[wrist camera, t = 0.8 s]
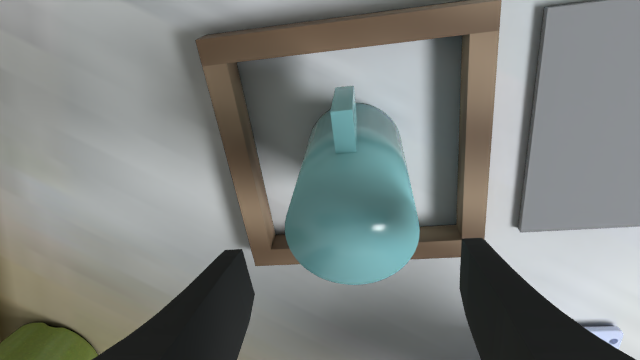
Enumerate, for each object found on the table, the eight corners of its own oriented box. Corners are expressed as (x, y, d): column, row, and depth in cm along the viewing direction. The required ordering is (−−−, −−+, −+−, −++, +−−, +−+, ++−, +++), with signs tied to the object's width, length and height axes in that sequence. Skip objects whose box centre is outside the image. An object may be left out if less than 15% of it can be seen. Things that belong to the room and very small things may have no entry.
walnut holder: (476, 239, 24) (483, 256, 23) (260, 250, 26) (255, 266, 25) (491, -3, 18) (501, 0, 17) (206, 34, 20) (195, 39, 18)
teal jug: (402, 183, 23) (420, 282, 16) (315, 189, 23) (296, 286, 16) (397, 64, 20) (417, 121, 13) (297, 75, 20) (264, 135, 13)
